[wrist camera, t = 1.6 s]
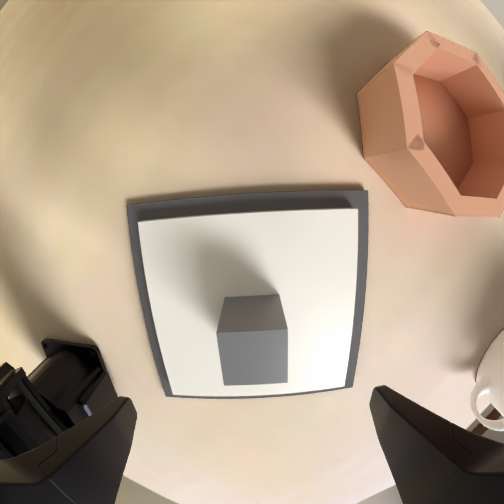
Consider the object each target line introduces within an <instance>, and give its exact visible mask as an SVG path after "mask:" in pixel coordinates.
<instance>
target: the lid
mask: <svg viewBox="0 0 504 504" xmlns="http://www.w3.org/2000/svg"><path fill="white" fill-rule="evenodd" d="M138 228H139V236H140V244H141V251H142V258H143V265H144V271H145V277H146V283H147V289H148V294H149V300H150V305H151V310H152V315H153V319H154V324H155V328H156V333H157V337H158V341H159V345H160V349H161V353H162V357H163V361H164V365H165V368H166V372H167V376H168V379H169V383H170V386H171V389H172V393H173V395H186V396H259V395H275V394H288V393H298V392H307V391H316V390H323V389H330V388H336V387H343V386H344V385H345V379H346V373H347V366H348V360H349V352H350V345H351V337H352V328H353V318H354V307H355V295H356V279H357V257H358V209H356V208H325V209H297V210H275V211H256V212H239V213H224V214H211V215H198V216H186V217H174V218H164V219H153V220H143V221H140V222H138Z"/></svg>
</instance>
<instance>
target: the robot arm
mask: <svg viewBox="0 0 504 504" xmlns="http://www.w3.org/2000/svg"><path fill="white" fill-rule="evenodd" d="M41 343H42V347H43V349H44V352H45V354H46V356H47V358H46V359H45V360H44V361H42V362H41V363H40V364H39V365H38V366H37V367H36V368H35V369H34V370H33V371H32V372H31V373H30V374H29V375H28V376H26V375H25V374H26V373H25V371H24V370H23V368H22V367H20V368H17V369H14V367H12V366H11V365H9V364H8V363H7V362H5V363H3V364H2V365H1V366H0V504H115V500H116V496H117V493H118V489H119V486H120V482H121V479H122V476H123V472H124V469H125V466H126V463H127V459H128V456H129V453H130V449H131V445H132V440H133V435H134V430H135V425H136V420H137V412H136V410H135V407H134V405H133V403H132V400H131V399H130V398H129V397H123V396H120V397H117V394H116V392H115V390H114V387H113V385H112V382H111V380H110V377H109V375H108V372H107V370H106V367H105V364H104V362H103V359H102V356H101V353H100V351H99V349H98V348H97V347H96V346H94V345H87V344H79V343H71V342H65V341H58V340H52V339H44V340H43V341H42V342H41ZM8 396H9V397H10V399H8ZM370 410H371V413H372V417H373V421H374V425H375V428H376V432H377V436H378V439H379V442H380V445H381V447H382V450H383V452H384V455H385V457H386V460H387V462H388V465H389V467H390V470H391V473H392V475H393V478H394V480H395V483H396V486H397V488H398V491H399V494H400V496H401V499H402V502H403V504H504V443H500V442H497V441H494V440H491V439H488V438H485V437H482V436H480V435H477V434H475V433H472V432H470V431H467V430H465V429H463V428H461V427H459V426H457V425H455V424H453V423H451V422H449V421H448V420H446V419H444V418H442V417H440V416H438V415H436V414H435V413H433V412H431V411H429V410H427V409H426V408H424V407H422V406H420V405H418V404H417V403H415V402H413V401H411V400H410V399H408V398H406V397H404V396H403V395H401V394H399V393H397V392H396V391H394V390H392V389H391V388H389V387H387V386H385V385H382V386H377V387H375V388H374V389H373V392H372V396H371V400H370Z"/></svg>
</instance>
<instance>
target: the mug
mask: <svg viewBox="0 0 504 504" xmlns="http://www.w3.org/2000/svg"><path fill="white" fill-rule="evenodd" d="M476 382H477V383H476V385H475V386H474V388H473V390H472V392H471V396H470V405H471V408H472V411H473V413H474V414H475V416H476V418H477V419H478V420H479V421H480V422H481V423H482V424H483V425H484V426H485V427H487V428H489V429H492V430H495V431H504V419H501V420H488V419H485V418H483V417H482V416H481V415H480V414H479V413H478V411H477V407H476V402H477V399H478V397H479V396H480V395H482V394H483V395H484V396H485V397H486V398H487V399H488V400H489V401H490V402H491V403H492V404H493V406H494V407H495V408H496V409H497V410H498V411H499V412H500V414H501V415H502V416H503V417H504V330H502V331H501V332H500V334H499V335H498V336H497V337H496V338H495V339H494V341H493V342H492V344H491V345H490V347H489V348H488V350H487V351H486V353H485V355H484V357H483V359H482V361H481V363H480V366H479V368H478V372H477V377H476Z"/></svg>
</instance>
